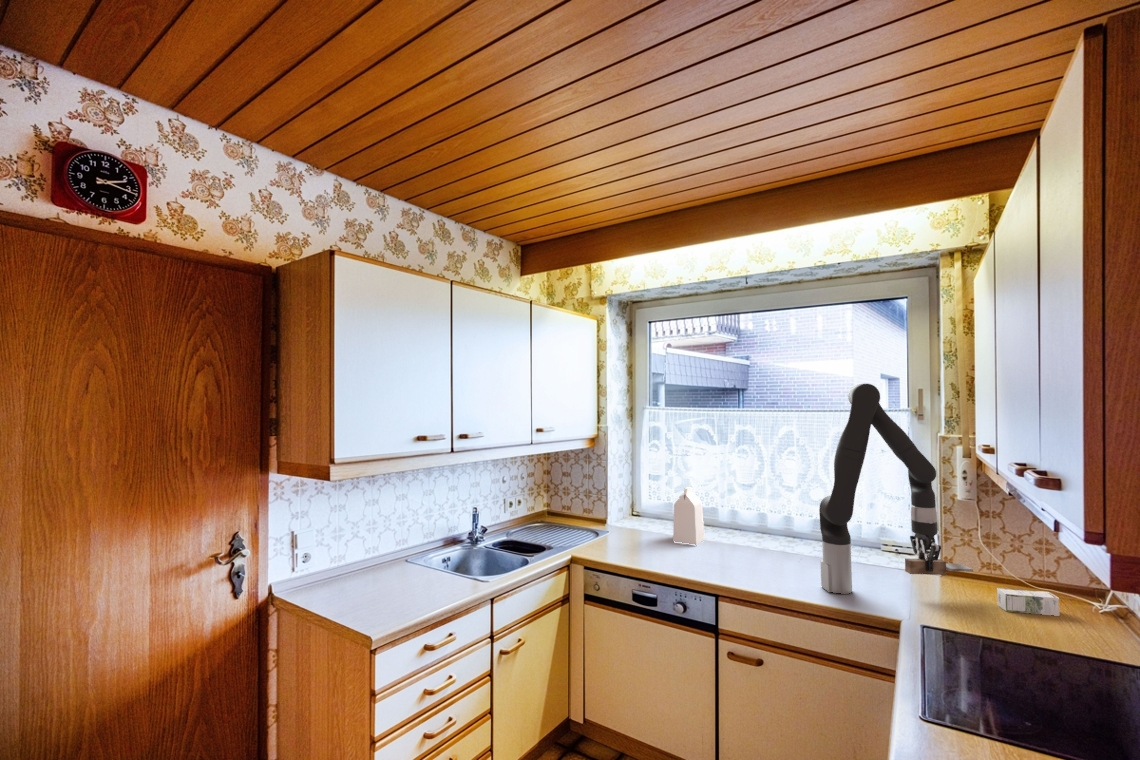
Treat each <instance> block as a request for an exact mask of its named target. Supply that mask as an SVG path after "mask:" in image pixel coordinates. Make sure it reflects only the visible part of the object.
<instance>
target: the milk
mask: <svg viewBox="0 0 1140 760" xmlns="http://www.w3.org/2000/svg"><path fill="white" fill-rule="evenodd" d="M704 522H705V521H704V508H703V503H702V501H701V499H700V498H699V497H698V496H697V495H696V494H695V493H694V492H693V488H692V486H687V487H685V488H684V490H683V493H682V494H680V496H679V497H678V499H677V500H676V501H675V502H674V504H673V527H672V528H673V529H672V530H673V532H672V533H673V535H672V539H673V541H675V542H682V543H689V544H695V545H697V544H698V543H700V542H701V541H703V540H704V539H705V540H706V538H705V537H706V536H705V523H704ZM673 541H672V542H673ZM703 542H704V541H703Z"/></svg>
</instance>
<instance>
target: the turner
mask: <svg viewBox="0 0 1140 760" xmlns="http://www.w3.org/2000/svg"><path fill="white" fill-rule="evenodd" d="M904 570H905V571H904V572H906V573H907V574H909V575H927V576H928V575H932V576H933V575H936V576H946V575H947V572H971V573H972V572H974V569H973V568H971V567H969V566H967V565H966V564H965V565H964V564H962V563H951V562H949V563H947V561H945V560H943V559H940V558H938V560H934V561H933V571H932V572H928V571H926V568H925V559H919V558H904Z"/></svg>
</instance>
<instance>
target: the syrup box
mask: <svg viewBox="0 0 1140 760" xmlns="http://www.w3.org/2000/svg"><path fill="white" fill-rule="evenodd" d="M996 593H997V594H996V595H997V606H999V608H1000V609H1002V610H1003V611H1005V612H1010V613H1018V614H1029V613H1031V614H1030V615H1040V614H1042V615H1043V616H1051V615H1054V616H1055V617H1060V615H1061V613H1060V597H1058V596H1057V595H1055V594H1054V593H1052V592H1049V591H1043V590H1041V591H1040V590H1029V589H1027V590H1026V589H1014V588H1002V587H1000V588H999V587H997V588H996ZM1042 615H1041V616H1042ZM1054 616H1053V617H1054Z"/></svg>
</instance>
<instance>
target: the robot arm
mask: <svg viewBox="0 0 1140 760" xmlns="http://www.w3.org/2000/svg"><path fill="white" fill-rule="evenodd" d="M847 399H848V401H849V404H850V410H849V415H848V420H847V422H846V425H845V427H844V429H843V431H842V433H841V434H840V437H839V439H838V443H837V445H836V450H835V453H834V454H835V455H834V460H833V470H834V471H833V473H834V477H833V478H834V483H833V488H832V490H831V494H830V495H827V496H825V497H824V498H823V499H822V500H821V501H820V503H819V511H818V512H819V514H818V515H819V527H820V532H821V533H820V534H821V538H822V539H821V540H822V541H821V542H822V543H821V544H822V545H821V546H822V560H820V585H821V586H822V587H823V588H822V587H821V588H822V589H824V590H825V591H826V590H827V591H828V592H827V591H826V592H827V593H829V592H833V593H832V594H836V593H841V594H840V595H850V594H852V593H853V576H852V575H853V572H852V545H851V544H852V541H851V539H852V537H851V535H850V532H849V528H848V523H849V522H850V521H851V519H852V518H853V514H854V513H853V512H854V507H855V497H856V491H857V486H858V484H859V481H860V476H861V473H862V468H863V465H864V461H865V457H866V454H867V448H868V443H869V439H870V434H871V432H870V431H871V426H873V428H875V430H876V432H877V433H878V434H879V435H880V437H881V438H882V440H883V441H884V442H885V443H886V445H887V446H888V448H889V449H890V450H891V451H892V453H893V454H894V455H895V456H896V457H897V459H899V461H901V462H902V463H903V464H904V466H905V467H906V468H907V470H908V471H907V473H908V474H907V475H908V482H909V487H910V493H911V494H910V502H911V508H910V518H911V519H910V523H911V524H910V526H911V532H912V533H914V535H910V536H909V539H910V544H911V546H912V549H913V550H912V551H913V553H914V554H916V556H917V557H918V559H925V568H926V571H928V572H932V571H933V561H934V560H938V559H939V557H940V554H941V551H942V546H941V545H939V544H937V543H936V539H935V536H937V535H938V533H939V532H938V531H939V530H938V514H937V513H938V512H937V508H936V507H937V505H936V495H935V494H936V493H935V492H934V489H933V488H932V487H933V485H932V484H933V482H934V481H935V479H936V478H937V470H936V469H935V466H933V464H932V463H931V462H930V460H928V459H927V457H925V456H924V454H923V453H922V452H921V451H920V450H919V448H918V447H917V446H916V445H915V443H914V441H912V440H911V439H912V438H910V437H909V435H908V434H907V433H906V432H905V431H904V430H903V429H902V428H901V426H899V425H898V424H897V423H896V422H895V421H894V420H893V419H892V417H890V416H889V415H888V413H887V412H886V411H885V410H884V409H883V407H882V405H881V404H880V402H881V401H880V400H881V393H880V391H879V389H878V388H877V387H876V386H875V385H873V384H871V383H860V384H857V385H854V386H853V387H851V388H850V389H849V391H848V394H847ZM851 592H852V593H851ZM849 593H850V594H849Z"/></svg>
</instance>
